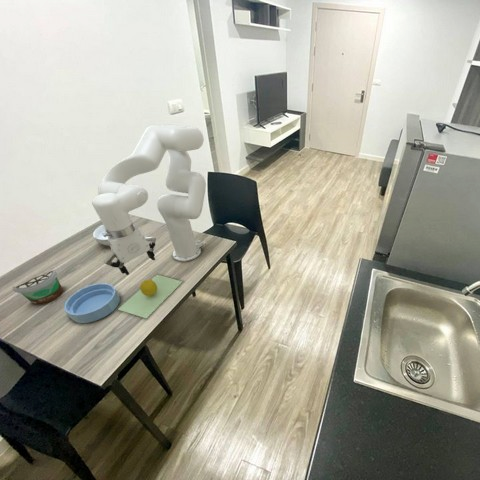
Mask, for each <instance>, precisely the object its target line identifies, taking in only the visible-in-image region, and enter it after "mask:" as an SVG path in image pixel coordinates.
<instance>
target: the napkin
mask: <svg viewBox="0 0 480 480" xmlns="http://www.w3.org/2000/svg"><path fill="white" fill-rule="evenodd" d="M150 280H152V281H154V282H155V283H156V285H157V292H156V293H155V294H154V295H152V296H146V295H144V294H143V293H142V292H141V289H140V288H139V290H137V292H135V293H134V294H133V295H132V296H131V297H130V298H129V299H127V301H125V302H124V303H123V304H122V305H121V306H119V308H118V309H117V311H121V312H123V313H126V314H130V315H134V316H136V317H140V318H142V319H143V318H144V319H148V318H149V317H150V316H151V315H152V314H153V313H154V312H155V311H156V310H157V309H158V308H159V307H160V306H161V305H162V304H163V303H164V302H165V301H166V299H168V297H170V296H171V294H172V293H174V292H175V290H176V289H177V288H178V287H179V286H180V285H182V283H183V281H182V280H178V279H175V278H171V277H167V276H165V275H164V276H163V275H159V274H156V275H154V276H153V277H152V278H151V279H150Z"/></svg>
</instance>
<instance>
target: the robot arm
mask: <svg viewBox="0 0 480 480" xmlns="http://www.w3.org/2000/svg"><path fill="white" fill-rule="evenodd" d="M204 140H205V139H204V135H203V132H202V131H201V130H200V129H199V128H197V127H194V126H187V125H186V126H185V125H178V124H164V125H161V124H152V125H149V126H147V127H146V128H145V130H144V132H143V134H142V135H141V137H140V139H139V140H138V142H137V145H136V146H135V148H134V150H133V152H132V153H131V154H130V155H129V156H127V157H125V158H123V159H121V160H120V161H118V162H117V163H115V164H114V165H112V166H111V167H110V168H109V169H108V170H107V171H106V172H105V174H104V176H103V177H102V179H101V181H100V183H99V186H98V189H97V195H96V196H94V198H93V199H92V201H91V205H92V207H93V209H94V210H95V212H96V214H97V216H98V219H100V221H101V223H102V225H104V227H105V230H106V232H105V233H103V236H104V237H106V236H108V241H109V244H110V246H109V247H110V250H111V253H110V254H109V255H108V256H107V257H106V258H105V259H104V260H103V263H104V264H105V265H107V266H110V267H112V268H118V269H119V271H120V272H121V274H125V275H127V276H129V275H130V272H129V270H128V269H127V267H126V265H125V263H128V262H131V261H133V260H134V259H136V258H138V257H140V256H142V255H144V254H147V257H148V258H149V259H150V260H152V261H156V258H155V257H156V255H155V253H154V250H155V246H156V242H157V238H156V237H154V236H145V235H144V234H143V232H142V231H141V229H140V228H139V227H138V226H136V225H135V224H134V222H133V220H132V218H131V216H130V214H129V213H130V212H131V211H134V210H137V209H138V208H141V207H142V206H144V205H145V204H146V203H147V202H148V199H149V193H148V191H147V189H146V188H144V187H143V186H140V185H137V184H131V183H127V182H128V181H129V180H130V179H132V178H134V177H136V176H139V175H142V174H143V175H144V174H147V173H150V172H153V171H156V170H157V169H158V168H159V166H160V164H161V162H162V160H163V158H164V156H165V154H166V153H168V166H167V171H166V177H165V186H166V188H167V189H168V190H169V191H171V192H176V193H180V194H173V193H167V194H163V195H161V196H159V198H158V199H157V201H156V207H157V210H158V212H159V214H160V216H161V217H162V219H163V220H164V222H165V226H166V228H167V231H168V235H169V238H170V240H171V244H172V246H173V249H174V250H173V252H172V257H173V259H174V260H175V261H178V262H189V261H193V260H195V259H196V258H198V257H199V256H200V255H201V253H202V249H201V247H202V246H205V245H207V241H206V240H203V241H202V240H201V239H198V240H197V241H196V239H195V236H194V231H193V229H192V225H191V221H190V220H197V219H198V218H200V216H201V214H202V211H203V207H204V201H205V193H206V188H207V185H206V179H205V176H203V174H201V173H200V172H197V171H191V169H192V158H191V156H190V154H189V153H188V152H189V151H195V150H199V149H201V148H202V146H203V144H204ZM181 194H187V195H181ZM114 259H116V260H115V261H113V260H114Z"/></svg>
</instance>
